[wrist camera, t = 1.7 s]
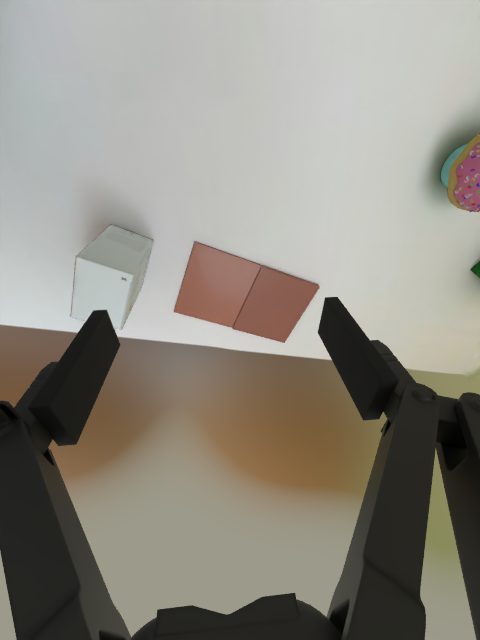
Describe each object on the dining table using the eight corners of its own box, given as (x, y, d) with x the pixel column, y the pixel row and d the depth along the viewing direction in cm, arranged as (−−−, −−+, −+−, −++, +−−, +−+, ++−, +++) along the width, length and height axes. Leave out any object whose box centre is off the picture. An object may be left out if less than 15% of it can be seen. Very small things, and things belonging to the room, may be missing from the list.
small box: (111, 222, 33) (74, 253, 24) (155, 239, 35) (135, 274, 26) (102, 275, 37) (68, 318, 29) (141, 288, 39) (120, 332, 30)
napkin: (174, 310, 41) (173, 313, 41) (194, 241, 35) (194, 242, 35) (283, 340, 47) (284, 342, 46) (318, 285, 41) (319, 286, 40)
